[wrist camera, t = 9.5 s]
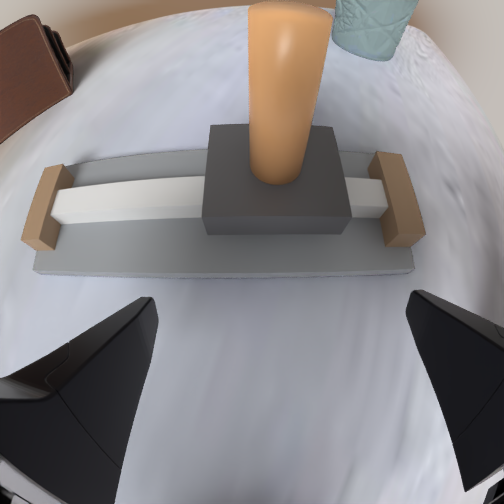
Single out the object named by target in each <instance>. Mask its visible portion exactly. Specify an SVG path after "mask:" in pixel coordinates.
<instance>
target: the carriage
mask: <svg viewBox="0 0 504 504" xmlns="http://www.w3.org/2000/svg"><path fill="white" fill-rule="evenodd" d="M332 20H333V17H332V16H331V15H330V14H329V13H328V12H327V11H325V10H323V9H321V8H318V7H316V6H313V5H309V4H304V3H300V2H293V1H265V2H260V3H256V4H253V5H252V6H250V7H249V8H248V53H249V124H225V125H211V126H210V135H209V143H208V152H207V162H206V171H205V182H204V193H203V204H202V220H203V223H204V226H205V229H206V232H207V235H279V234H337V235H341V234H342V232H343V231H344V229H345V228H346V226H347V225H348V223H349V222H350V220H351V218H352V212H351V207H350V201H349V196H348V191H347V186H346V182H345V177H344V172H343V168H342V164H341V159H340V155H339V151H338V147H337V143H336V139H335V135H334V131H333V128H332V127H326V126H311V124H312V119H313V115H314V110H315V105H316V101H317V96H318V91H319V87H320V82H321V77H322V72H323V67H324V62H325V57H326V52H327V47H328V42H329V37H330V31H331V26H332Z"/></svg>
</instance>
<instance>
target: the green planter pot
mask: <svg viewBox="0 0 504 504" xmlns="http://www.w3.org/2000/svg"><path fill="white" fill-rule="evenodd" d="M418 1H419V0H336V7H335V14H336V15H335V17H336V18H335V20H334V26H333V33H332V38H333V41H334V42H335V43H336V44H337V45H338V46H339V47H341V48H342V49H344V50H346V51H348V52H350V53H352V54H355V55H357V56H360V57H363V58H366V59H370V60H375V61H388V60H390V59H391V58H392V57H393V55H394V53H395V50H396V47H397V46H398V44H399V42H400V40H401V37H402V33H404V31H405V28H406V26H407V24H408V21H409V20H410V18H411V15H412V14H413V10H414V9H415V7H416V5H417V3H418Z"/></svg>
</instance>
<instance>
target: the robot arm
mask: <svg viewBox="0 0 504 504" xmlns="http://www.w3.org/2000/svg"><path fill="white" fill-rule="evenodd" d="M406 317H407V320H408V323H409V325H410V328H411V331H412V334H413V337H414V340H415V343H416V346H417V349H418V352H419V354H420V356H421V359H422V361H423V363H424V366H425V368H426V371H427V373H428V375H429V378H430V380H431V383H432V386H433V388H434V391H435V393H436V396H437V399H438V402H439V404H440V407H441V410H442V413H443V416H444V419H445V422H446V425H447V428H448V431H449V434H450V437H451V441H452V443H453V448H454V451H455V455H456V459H457V462H458V466H459V470H460V474H461V479H462V483H463V487H464V491H465V492H467V491H469V490H471V489H472V488H474V487H476V486H477V485H479V484H481V483H482V482H484V481H485V480H487V479H488V478H490V477H492V476H493V475H495V474H496V473H497V472H499V471H500V470H502V469H503V471H504V328H503V327H501V326H499V325H497V324H494V323H492V322H490V321H488V320H486V319H484V318H482V317H480V316H478V315H476V314H474V313H472V312H470V311H467V310H465V309H463V308H461V307H459V306H457V305H455V304H452V303H450V302H448V301H446V300H444V299H442V298H439V297H437V296H435V295H433V294H431V293H428V292H426V291H424V290H413V291H412V292H411V294H410V298H409V301H408V304H407V308H406ZM157 328H158V314H157V310H156V305H155V301H154V299H153V298H152V297H140V298H139V299H137V300H136V301H134V302H132V303H131V304H129V305H127V306H126V307H124V308H122V309H121V310H119V311H117V312H116V313H114V314H113V315H111V316H109V317H108V318H106V319H104V320H103V321H101V322H100V323H98V324H96V325H95V326H93V327H91V328H90V329H88V330H87V331H85V332H83V333H82V334H80V335H79V336H77V337H75V338H74V339H72V340H71V341H69V343H66V344H64V345H63V346H61V347H59V348H58V349H56V350H55V351H53V352H51V353H50V354H48V355H46V356H44V357H42V358H41V359H39V360H37V361H35V362H33V363H31V364H29V365H27V366H26V367H24V368H22V369H20V370H18V371H16V372H14V373H12V374H11V375H8V376H6V377H3V378H0V504H114V503H115V498H116V493H117V488H118V484H119V479H120V475H121V469H122V465H123V461H124V457H125V453H126V448H127V444H128V440H129V437H130V433H131V429H132V425H133V421H134V418H135V414H136V410H137V407H138V403H139V400H140V396H141V393H142V389H143V386H144V383H145V379H146V376H147V373H148V370H149V366H150V363H151V359H152V354H153V348H154V343H155V338H156V333H157ZM483 504H504V478H503V479H502V480H500V481H499V482H497V483H496V484H495V485H493V486H492V487H490V488H489V489H488V492H487V495H486V498H485V500H484V503H483Z"/></svg>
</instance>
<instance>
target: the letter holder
mask: <svg viewBox="0 0 504 504" xmlns="http://www.w3.org/2000/svg"><path fill="white" fill-rule="evenodd" d="M72 94H73V65H72V62H71V60H70V58H69V56H68V53H67V51H66V49H65V48H64V45H63V43H62V40H61V37H60V35H59V33H58V32H56V31H52V30H51V29H50V27H49V26H47V25H42V24H41V21H40V19H39V17H38V16H36V15H33V14H32V15H28V16H26V17H23V18H21V19H19V20H18V21H16V22H14V23H12V24H10V25H9V26H7V27H5V28H4V29H2V30H0V144H1V143H2V142H3V141H5V140H6V139H7V138H8V137H10V136H11V135H12V134H14V133H15V132H16V131H17V130H19V129H20V128H21V127H23V126H24V125H26V124H27V123H28V122H30V121H31V120H32V119H34V118H35V117H37V116H38V115H40V114H41V113H43V112H44V111H46V110H47V109H49V108H50V107H52V106H53V105H55V104H57V103H58V102H60V101H61V100H63V99H65V98H66V97H68V96H70V95H72Z"/></svg>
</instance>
